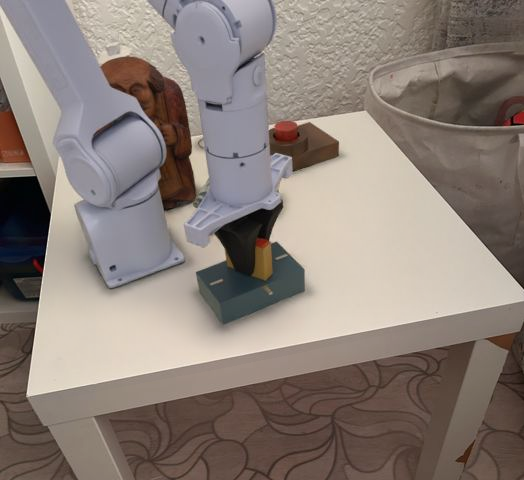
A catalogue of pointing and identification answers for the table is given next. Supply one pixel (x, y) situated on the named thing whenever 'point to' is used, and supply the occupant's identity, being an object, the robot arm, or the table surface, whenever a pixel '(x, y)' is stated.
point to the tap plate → (250, 286)
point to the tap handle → (260, 259)
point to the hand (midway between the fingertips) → (249, 266)
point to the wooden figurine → (159, 121)
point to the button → (286, 131)
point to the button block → (305, 146)
